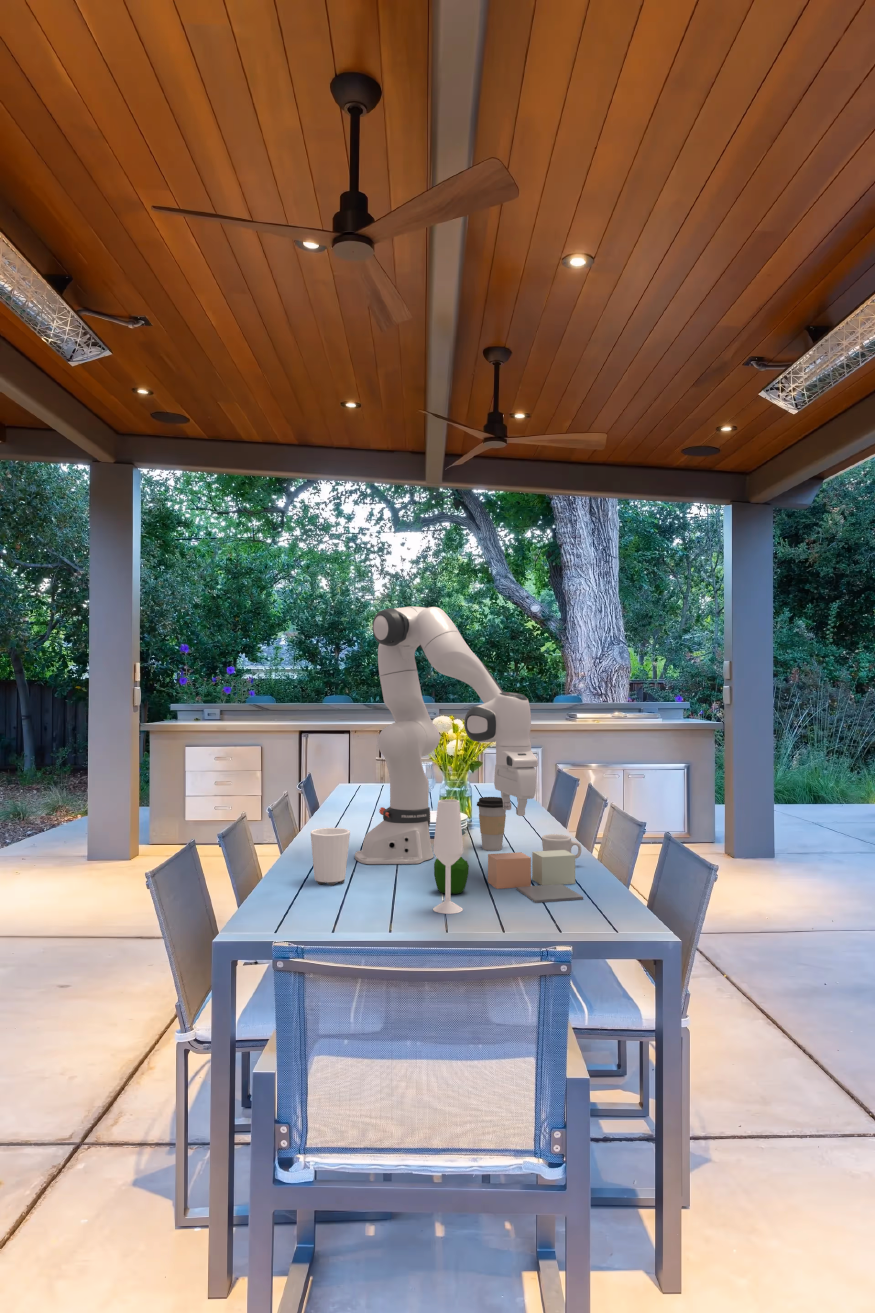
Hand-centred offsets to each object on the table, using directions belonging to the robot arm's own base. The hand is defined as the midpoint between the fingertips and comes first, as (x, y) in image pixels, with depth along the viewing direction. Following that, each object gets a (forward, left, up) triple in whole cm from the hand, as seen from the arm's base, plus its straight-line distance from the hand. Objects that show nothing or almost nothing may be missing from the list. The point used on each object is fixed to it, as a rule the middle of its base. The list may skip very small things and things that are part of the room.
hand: (513, 812), depth 204 cm
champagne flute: (-22, -17, -18) cm, 33 cm away
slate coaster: (+5, -11, -18) cm, 21 cm away
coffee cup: (+9, +41, -18) cm, 46 cm away
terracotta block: (-1, 0, -18) cm, 18 cm away
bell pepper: (-17, -3, -18) cm, 25 cm away
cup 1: (-44, +13, -18) cm, 49 cm away
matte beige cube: (+11, 0, -18) cm, 21 cm away
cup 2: (+20, +15, -18) cm, 31 cm away
